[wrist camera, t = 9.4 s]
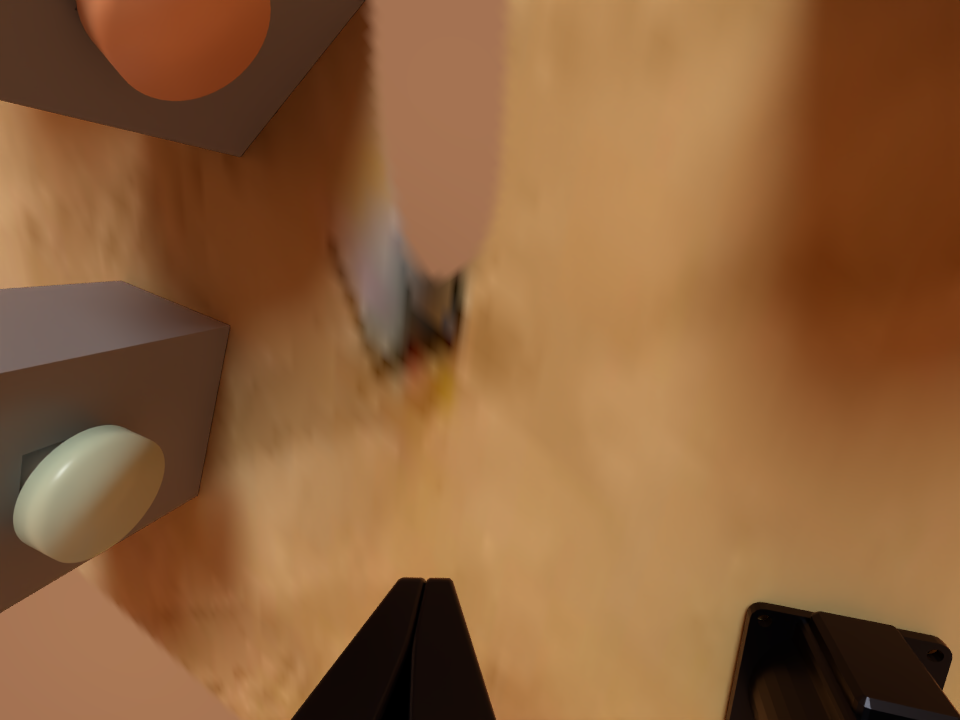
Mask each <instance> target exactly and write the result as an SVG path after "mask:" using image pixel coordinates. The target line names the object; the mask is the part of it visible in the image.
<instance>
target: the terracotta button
mask: <svg viewBox="0 0 960 720" xmlns="http://www.w3.org/2000/svg"><path fill="white" fill-rule="evenodd" d="M76 4H77V11H78V14H79V17H80V21H81V23H82V25H83V27H84V29H85V31H86V33H87V34H88V36H89V37H90V39H91V40H92V42H93V43H94V44H95V45H96V46H97V47H98V49H99V50H100V51H101V52H102V53H103V55H104V56H105V57H106V58H107V59H108V61H109V62H110V63H111V64H112V65H113V67H114V68H115V69H116V70H117V71H118V73H119V74H120V75H121V76H122V77H123V78H124V79H125V81H126V82H127V83H128V84H129V85H131V86H132V87H133V88H134V89H136V90H137V91H139V92H141V93H143V94H145V95H147V96H150V97H152V98H156V99H160V100H167V101H185V100H191V99H196V98H200V97H203V96H206V95H209V94H211V93H213V92H216V91H218V90H219V89H221V88H223V87H225V86H226V85H228V84H229V83H230V82H232V81H233V80H234V79H236V78H237V77H238V76H239V75H240V74H241V73H242V72H243V71H244V70H245V69H246V68H247V67H248V66H249V65H250V64H251V62H252V61H253V60H254V58H255V57H256V55H257V54H258V52H259V50H260V48H261V47H262V45H263V42H264V40H265V37H266V35H267V31H268V28H269V22H270V13H271V6H270V0H76Z"/></svg>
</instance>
